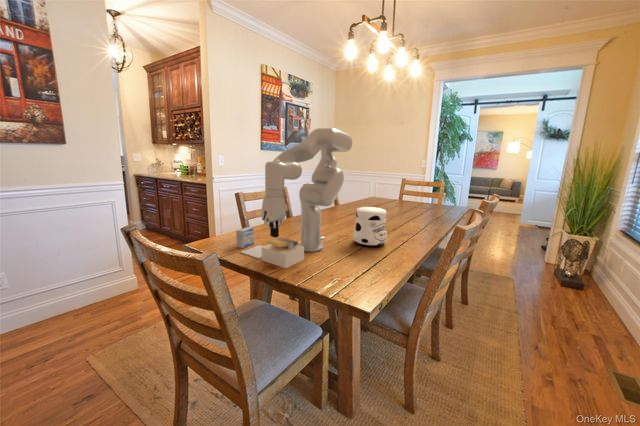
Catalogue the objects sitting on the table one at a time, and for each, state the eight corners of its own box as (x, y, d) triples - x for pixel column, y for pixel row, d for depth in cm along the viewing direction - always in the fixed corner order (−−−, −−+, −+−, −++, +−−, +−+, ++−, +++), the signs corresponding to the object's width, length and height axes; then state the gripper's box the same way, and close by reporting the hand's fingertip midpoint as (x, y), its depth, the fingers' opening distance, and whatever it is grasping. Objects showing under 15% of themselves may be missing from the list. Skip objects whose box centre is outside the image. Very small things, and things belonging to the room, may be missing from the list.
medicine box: (243, 248, 136) (243, 231, 134) (236, 247, 138) (235, 230, 136) (254, 244, 143) (253, 227, 141) (247, 242, 145) (246, 226, 143)
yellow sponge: (285, 242, 129) (286, 238, 129) (297, 245, 125) (298, 241, 125) (266, 245, 119) (267, 240, 119) (279, 248, 115) (279, 244, 115)
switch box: (280, 252, 132) (280, 234, 130) (304, 259, 124) (304, 241, 122) (261, 260, 123) (261, 241, 121) (285, 268, 115) (285, 248, 113)
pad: (260, 245, 140) (259, 244, 140) (277, 251, 133) (277, 250, 133) (240, 252, 130) (240, 251, 130) (258, 259, 124) (258, 258, 124)
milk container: (386, 250, 138) (389, 214, 134) (351, 247, 142) (353, 212, 138) (385, 239, 155) (388, 207, 151) (354, 236, 158) (355, 205, 154)
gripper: (280, 190, 121) (280, 231, 125) (254, 193, 109) (254, 238, 113) (293, 192, 117) (293, 234, 121) (267, 195, 105) (267, 242, 109)
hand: (274, 236), depth 117 cm, fingers closed
